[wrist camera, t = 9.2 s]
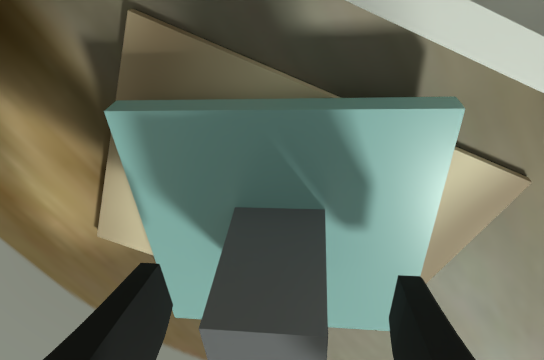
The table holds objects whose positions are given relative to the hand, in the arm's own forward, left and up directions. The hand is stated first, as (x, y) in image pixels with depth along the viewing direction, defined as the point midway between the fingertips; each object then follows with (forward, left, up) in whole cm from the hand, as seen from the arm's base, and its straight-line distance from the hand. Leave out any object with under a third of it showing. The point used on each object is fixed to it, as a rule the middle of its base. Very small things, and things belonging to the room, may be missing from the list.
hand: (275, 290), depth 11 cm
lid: (0, 0, -4) cm, 4 cm away
